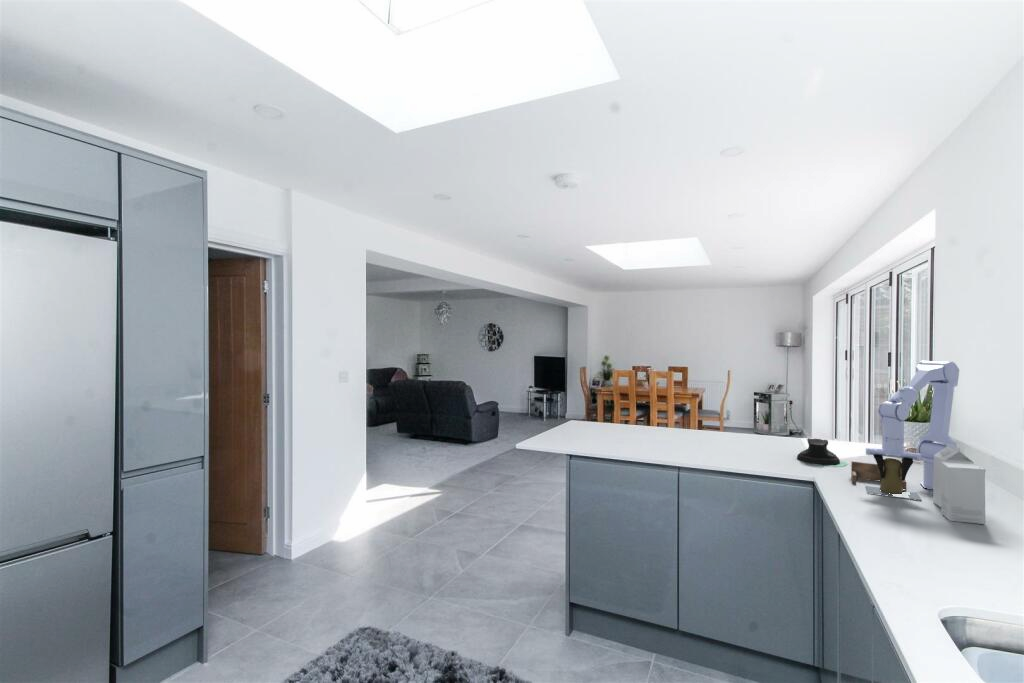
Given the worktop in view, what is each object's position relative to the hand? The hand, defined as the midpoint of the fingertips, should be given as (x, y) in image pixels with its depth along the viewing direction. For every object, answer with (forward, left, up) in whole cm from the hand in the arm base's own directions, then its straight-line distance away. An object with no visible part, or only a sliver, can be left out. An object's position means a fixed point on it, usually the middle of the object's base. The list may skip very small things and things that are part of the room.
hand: (892, 478), depth 165 cm
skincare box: (-14, +19, -5) cm, 24 cm away
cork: (0, -1, -5) cm, 5 cm away
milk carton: (-14, +7, -5) cm, 16 cm away
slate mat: (0, 0, -5) cm, 5 cm away
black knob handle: (+21, -40, -6) cm, 46 cm away
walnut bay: (+3, -12, -5) cm, 13 cm away
